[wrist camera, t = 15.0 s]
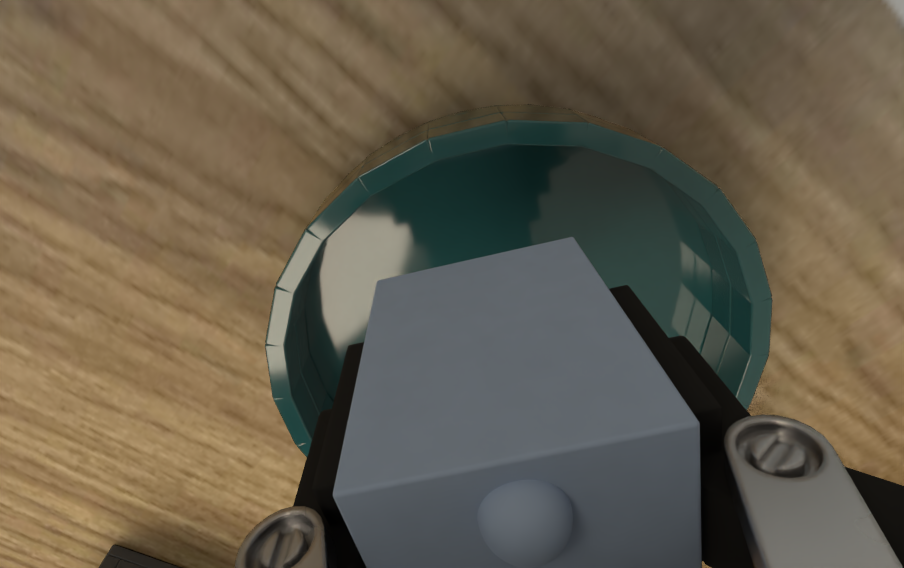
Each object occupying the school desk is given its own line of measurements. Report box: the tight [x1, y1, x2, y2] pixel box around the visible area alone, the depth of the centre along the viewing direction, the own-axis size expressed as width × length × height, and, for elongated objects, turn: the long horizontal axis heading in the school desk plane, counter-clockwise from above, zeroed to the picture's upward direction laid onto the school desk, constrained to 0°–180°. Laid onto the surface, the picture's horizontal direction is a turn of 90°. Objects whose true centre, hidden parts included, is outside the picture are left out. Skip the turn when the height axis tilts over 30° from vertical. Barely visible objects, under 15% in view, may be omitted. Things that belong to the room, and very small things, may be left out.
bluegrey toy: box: [333, 237, 702, 568], centre depth 10 cm, size 4×4×7 cm
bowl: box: [265, 104, 772, 457], centre depth 17 cm, size 15×15×3 cm
